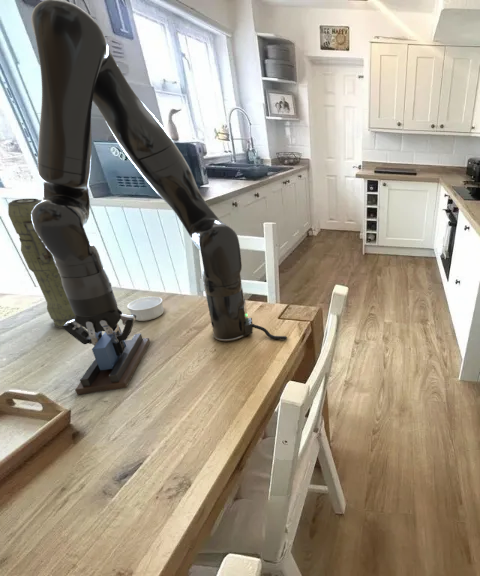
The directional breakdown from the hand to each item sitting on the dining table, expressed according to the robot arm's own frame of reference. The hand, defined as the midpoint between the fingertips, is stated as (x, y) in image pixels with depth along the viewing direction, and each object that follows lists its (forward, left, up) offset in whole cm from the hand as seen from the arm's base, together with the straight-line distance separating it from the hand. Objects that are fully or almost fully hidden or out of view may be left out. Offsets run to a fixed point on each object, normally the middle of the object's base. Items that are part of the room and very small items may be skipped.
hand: (112, 354), depth 78 cm
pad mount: (0, 0, -4) cm, 4 cm away
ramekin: (0, -25, -4) cm, 25 cm away
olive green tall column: (+19, -26, -4) cm, 32 cm away
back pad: (0, 0, -1) cm, 1 cm away
